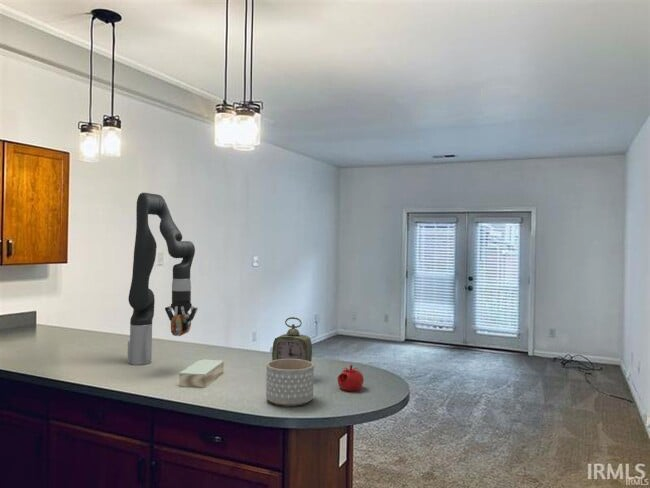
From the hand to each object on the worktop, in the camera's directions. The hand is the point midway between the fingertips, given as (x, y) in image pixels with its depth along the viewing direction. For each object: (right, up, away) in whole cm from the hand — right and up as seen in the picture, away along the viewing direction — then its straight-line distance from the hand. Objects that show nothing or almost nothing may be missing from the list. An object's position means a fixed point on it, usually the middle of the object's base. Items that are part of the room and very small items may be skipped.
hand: (181, 331), depth 209 cm
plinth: (+11, -18, -7) cm, 22 cm away
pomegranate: (+69, -19, -16) cm, 73 cm away
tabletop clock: (+46, -19, -5) cm, 50 cm away
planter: (+47, -19, -32) cm, 60 cm away
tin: (0, -1, 0) cm, 1 cm away
